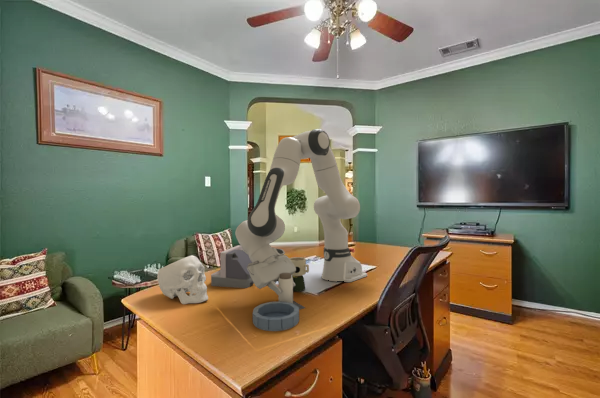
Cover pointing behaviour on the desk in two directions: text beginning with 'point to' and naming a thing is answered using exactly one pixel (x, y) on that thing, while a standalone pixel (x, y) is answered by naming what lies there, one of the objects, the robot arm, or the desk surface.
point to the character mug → (299, 272)
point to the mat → (298, 305)
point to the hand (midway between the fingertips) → (287, 290)
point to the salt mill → (286, 287)
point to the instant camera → (233, 269)
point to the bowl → (276, 316)
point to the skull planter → (184, 280)
